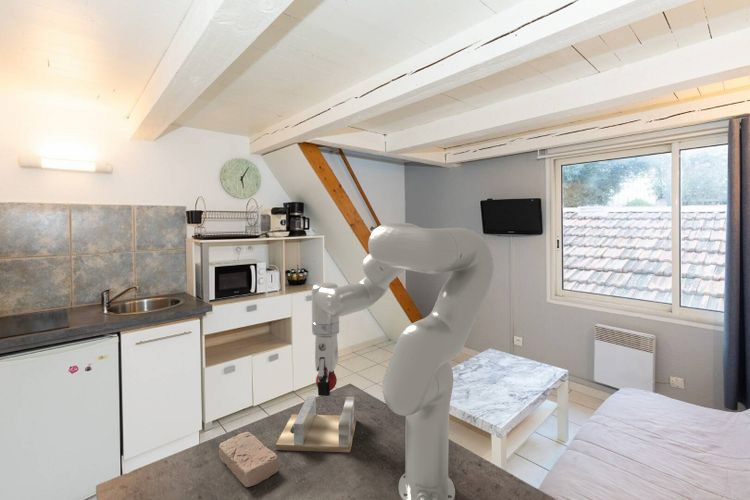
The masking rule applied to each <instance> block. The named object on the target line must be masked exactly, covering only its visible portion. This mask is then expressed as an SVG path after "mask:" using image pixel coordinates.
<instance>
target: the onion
mask: <svg viewBox="0 0 750 500" xmlns="http://www.w3.org/2000/svg"><path fill="white" fill-rule="evenodd" d="M324 370H327V368H324ZM324 375H326V373H324ZM336 375H337V374H336V373H335V371H334V372H331V371H329V381H330V392H331V391H333V390H334V389H335V387H336V385H337V383H338V378H337V376H336ZM315 384H316V387H317V388H318V374H317V375H316V377H315Z"/></svg>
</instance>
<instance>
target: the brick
mask: <svg viewBox="0 0 750 500" xmlns="http://www.w3.org/2000/svg"><path fill="white" fill-rule="evenodd" d="M218 448H219V450H218V454H219V458H220V460H221V462H222V463H223V464H224V465H226V466H227V468H228V469H229V470H230V471H231V473H232V474H233V475H234V476H235V477H236V478H237V480H239V482H240V483H241V484H243V485H244V487H246V488H249V487H254V486H256V485H258V484H260V483H261V482H263V481H265V480H267V479H269V478H270V477H272V476H273V475H275V474H277V472H279V471H278V470H279V463H278V462H279V457H278V455H277V454H276V453H275V452H274V451H272V449H269V448H268V447H267V446H265V445H264V444H263V442H261V441H260V440H259V438H257V437H256V435H254V434H252V433H251V432H250V431H244V432H241V433H239V434H236V436H232V437H231V438H227V440H225V441H222V442H221V443H219V446H218Z"/></svg>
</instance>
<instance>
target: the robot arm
mask: <svg viewBox="0 0 750 500" xmlns="http://www.w3.org/2000/svg"><path fill="white" fill-rule="evenodd" d="M367 247H368V252H369V253H368V254H367V256H365V257H364V259H363V261H362V263H361V264H362V267H361V268H362V271H363V273H364V275H365V276H364V277H363V278H362V279H361V280H360V281H359V282H356V283H351V284H347V285H342V286H338V285H337V284H336V283H333V282H319V283H315V284H313V286H312V288H311V332H312V333H311V334H312V335H313V336H315V343H314V344H315V345H314V346H315V347H314V348H315V349H314V350H315V351H314V366H315V371H316V372H318V373H317V375H318V387H317V395H318V396H321V397H322V396H323V397H325V396H326V397H328V396H329V397H330V395H331V391H330V381H329V371H331V372H334V373H335V369H336V366H337V364H338V362H339V347H338V346H339V343H338V342H339V341H338V334H340V317H344V316H347V315H351V314H353V313H357V312H360V311H365V310H367V309H369V308H370V307H371V306H373V305H374V304H375V303H377V302H378V301H379V300H380V299H381V298H383V297H384V296H385V294H386V293H387V292H388V289H389V287H390V283H391V282H393V281H394V280H395V279H396V278H397V277H398V276H400V275H401V274H402V273H403V272H404V271H405V270H406V271H411V272H417V273H421V274H426V275H427V274H429V275H438V274H444V273H448V272H450V275H449V276H448V279H446V281H445V283H444V284H443V285H442V287H441V289H440V291H439V294H438V296H437V299H436V301H435V303H434V306H433V308H432V310H431V312H430V313H429V314H428V315H427V316H426V317H424V318H422V319H418V320H417V321H414V322H412V323H411V324H409V325H408V326H406V327H405V328H404V330H403V331H402V332H401V334H400V335H399V336H398V338H397V341H396V344H395V346H394V349H393V351H392V354H391V356H390V358H389V362H388V364H387V367H386V370H385V372H384V376H383V380H382V387H381V389H382V397H383V399H384V402H385V404H386V405H387V407H388V409H390V411H392V412H393V413H394V414H396V415H399V416H403V417H405V429H404V430H405V431H404V432H405V434H404V435H405V450H404V453H405V455H404V456H405V457H404V458H405V459H404V460H405V462H404V463H405V465H404V467H405V469H404V471H405V472H404V473H403V474H402V475H401V477H400V479H399V481H398V494H399V497H400V499H401V500H455V498H456V488H455V485H454V482H453V480H452V479H451V478H450V477H449V443H450V442H449V441H450V440H449V439H450V438H449V435H450V434H449V431H450V409H451V407H450V406H451V399H452V394H453V388H454V372H453V368H452V366H451V363H450V361H452V360H453V359H454V358H456V357H457V356H458V355H459V354H461V352H463V349H464V348H465V344H466V342H467V340H468V338H469V336H470V333H471V330H472V328H473V326H474V324H475V321H476V319H477V317H478V314H479V312H480V309H481V307H482V305H483V303H484V300H485V298H486V296H487V294H488V292H489V289H490V288H491V287H490V286H491V284H492V280H493V276H494V270H495V269H494V258H493V255H492V251H491V249H490V247H489V245H488V243H487V242H486V241H485V239H484V238H483V237H482V236H481V235H480V234H478V233H477V232H476V231H474V230H471V229H469V228H464V227H441V228H439V227H437V228H428V227H427V228H426V227H420V226H419V225H417V224H414V223H411V222H410V223H409V222H391V223H390V222H387V223H382V224H380V225H378V226H377V227H376V228H374V230H373V231H372V232H371V233H370V236H369V238H368V242H367ZM324 368H327V370H324ZM324 373H326V375H324Z"/></svg>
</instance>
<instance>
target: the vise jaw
mask: <svg viewBox="0 0 750 500" xmlns="http://www.w3.org/2000/svg"><path fill="white" fill-rule="evenodd" d="M316 401H317V397H316V395H307V396H306V398H305V401H304V402H303V405H302V406H301V408H300V411H299V413H297V414H298V416H297V418H296V420H295V422H294V424H293V426H292V428H291V430H290V432H291V433H294V445H304V442H305V440H306V438H307V435H308V433H309V430H310V428H311V426H312V423H313V421H314V418H315V416H316V415H317V402H316Z"/></svg>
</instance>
